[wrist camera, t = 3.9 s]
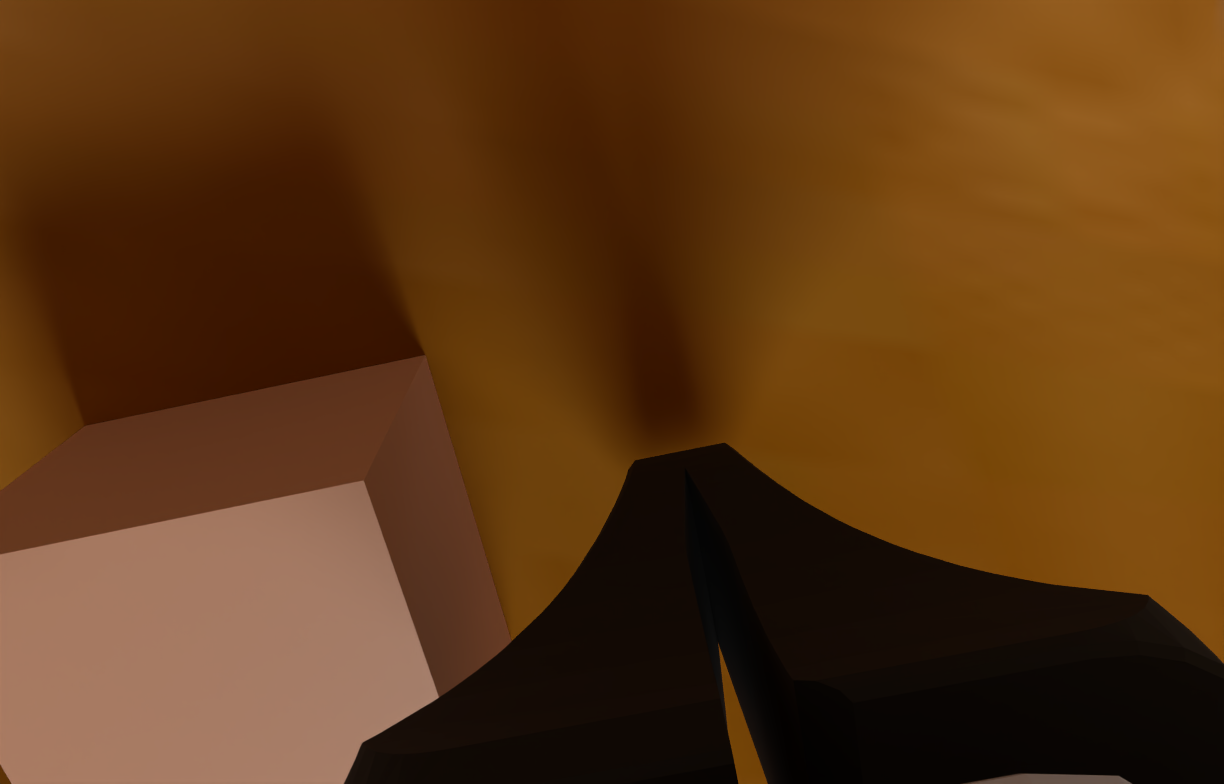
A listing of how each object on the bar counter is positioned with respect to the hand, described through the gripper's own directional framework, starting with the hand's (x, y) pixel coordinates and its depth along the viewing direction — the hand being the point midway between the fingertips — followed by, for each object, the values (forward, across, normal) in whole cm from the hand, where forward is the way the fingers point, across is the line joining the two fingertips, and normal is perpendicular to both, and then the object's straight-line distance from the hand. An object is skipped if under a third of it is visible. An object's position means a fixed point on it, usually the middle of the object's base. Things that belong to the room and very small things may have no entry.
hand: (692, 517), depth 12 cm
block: (+2, +6, 0) cm, 6 cm away
